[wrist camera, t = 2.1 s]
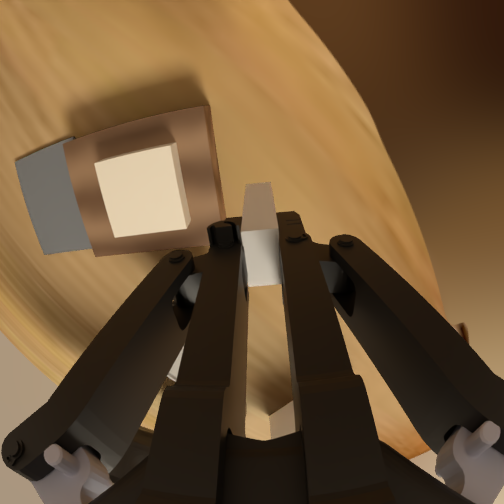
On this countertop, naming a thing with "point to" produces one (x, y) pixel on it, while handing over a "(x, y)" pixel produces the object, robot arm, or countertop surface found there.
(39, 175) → the rubber mat
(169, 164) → the coaster
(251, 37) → the countertop surface
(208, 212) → the walnut board
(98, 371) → the robot arm
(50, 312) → the countertop surface
